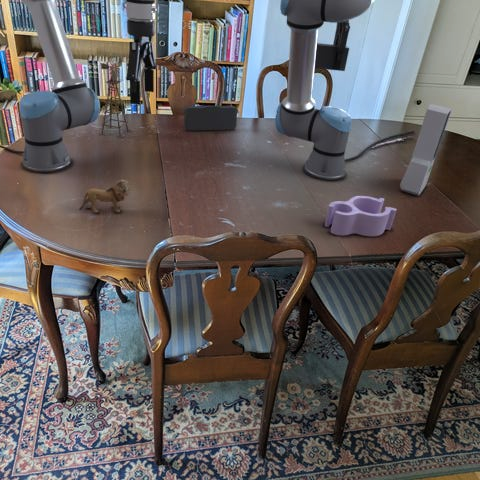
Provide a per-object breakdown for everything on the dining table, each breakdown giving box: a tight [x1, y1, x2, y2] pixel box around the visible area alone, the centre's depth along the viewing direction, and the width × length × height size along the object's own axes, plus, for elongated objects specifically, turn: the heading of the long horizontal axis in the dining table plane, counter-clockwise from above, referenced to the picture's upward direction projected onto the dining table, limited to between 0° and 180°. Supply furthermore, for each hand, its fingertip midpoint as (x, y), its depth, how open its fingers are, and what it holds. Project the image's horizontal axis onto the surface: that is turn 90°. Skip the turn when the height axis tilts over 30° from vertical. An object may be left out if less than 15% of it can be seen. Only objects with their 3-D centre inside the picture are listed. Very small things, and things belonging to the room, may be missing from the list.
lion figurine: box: [78, 179, 131, 214], centre depth 135 cm, size 15×5×9 cm, turn 110°
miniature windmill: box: [100, 54, 130, 138], centre depth 181 cm, size 9×8×30 cm
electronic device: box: [399, 103, 452, 197], centre depth 162 cm, size 12×8×30 cm, turn 148°
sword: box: [371, 136, 412, 150], centre depth 209 cm, size 31×3×1 cm, turn 126°
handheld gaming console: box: [183, 105, 239, 132], centre depth 200 cm, size 23×3×10 cm, turn 108°
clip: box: [324, 195, 398, 237], centre depth 141 cm, size 20×12×7 cm, turn 109°
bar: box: [314, 42, 350, 72], centre depth 192 cm, size 22×4×9 cm, turn 91°
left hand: (142, 97), depth 139 cm, fingers open, 13 cm apart
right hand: (335, 67), depth 194 cm, fingers closed on bar, 4 cm apart
